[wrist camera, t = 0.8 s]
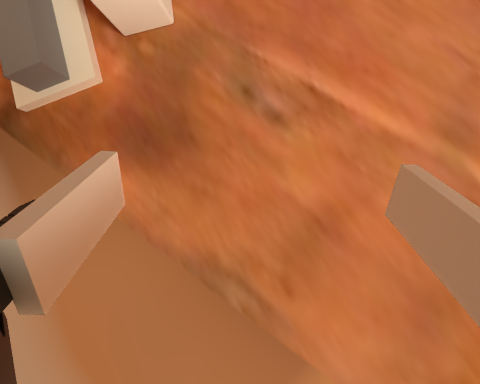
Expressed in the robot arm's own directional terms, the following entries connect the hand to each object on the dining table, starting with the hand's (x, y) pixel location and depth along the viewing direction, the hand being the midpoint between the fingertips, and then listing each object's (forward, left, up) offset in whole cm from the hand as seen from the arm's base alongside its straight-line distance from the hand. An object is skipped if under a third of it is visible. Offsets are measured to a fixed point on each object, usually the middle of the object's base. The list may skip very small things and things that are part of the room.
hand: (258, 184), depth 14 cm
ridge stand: (-23, -33, -20) cm, 45 cm away
